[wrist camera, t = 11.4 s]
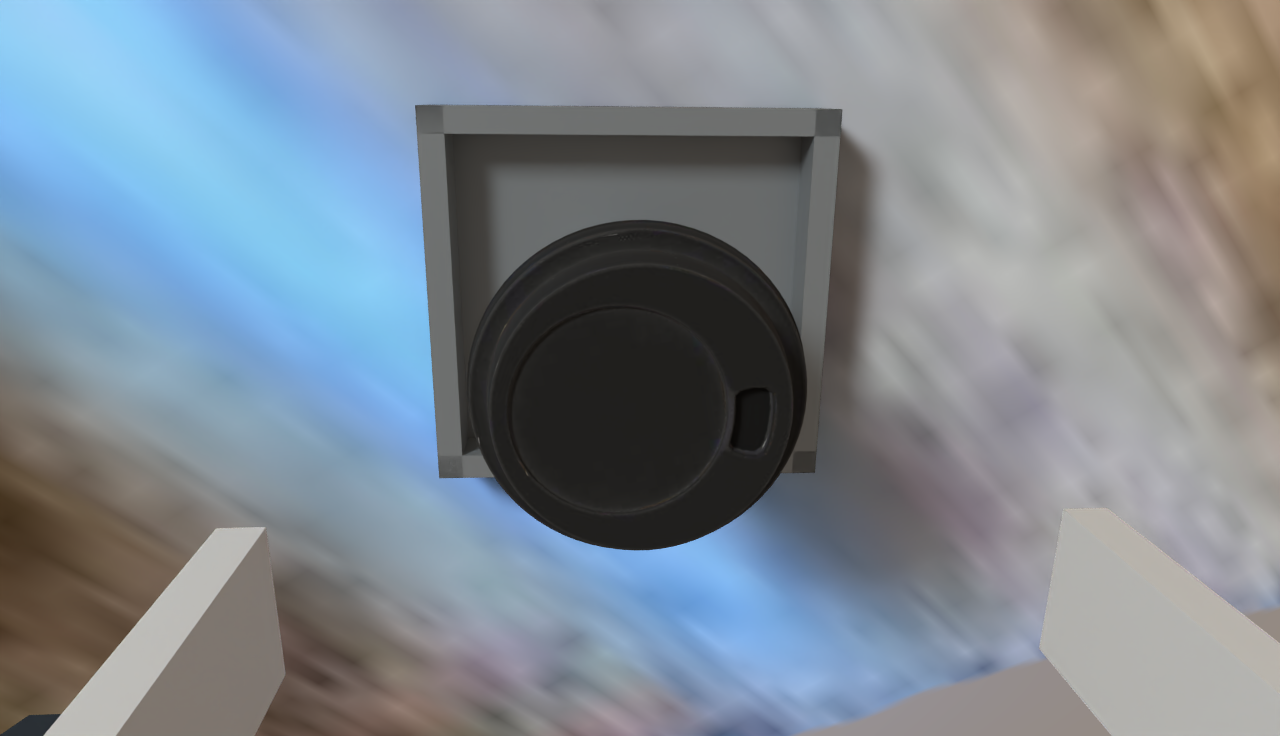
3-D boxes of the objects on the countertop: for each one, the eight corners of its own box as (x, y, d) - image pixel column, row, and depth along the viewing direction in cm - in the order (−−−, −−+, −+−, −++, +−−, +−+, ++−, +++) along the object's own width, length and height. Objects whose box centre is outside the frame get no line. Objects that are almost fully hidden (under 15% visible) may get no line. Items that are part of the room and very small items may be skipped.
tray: (449, 450, 39) (439, 478, 36) (429, 104, 35) (415, 105, 32) (798, 445, 40) (814, 472, 37) (822, 108, 36) (842, 109, 33)
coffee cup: (763, 347, 38) (870, 499, 23) (564, 428, 38) (549, 626, 24) (684, 139, 35) (751, 168, 21) (470, 230, 35) (390, 321, 21)
